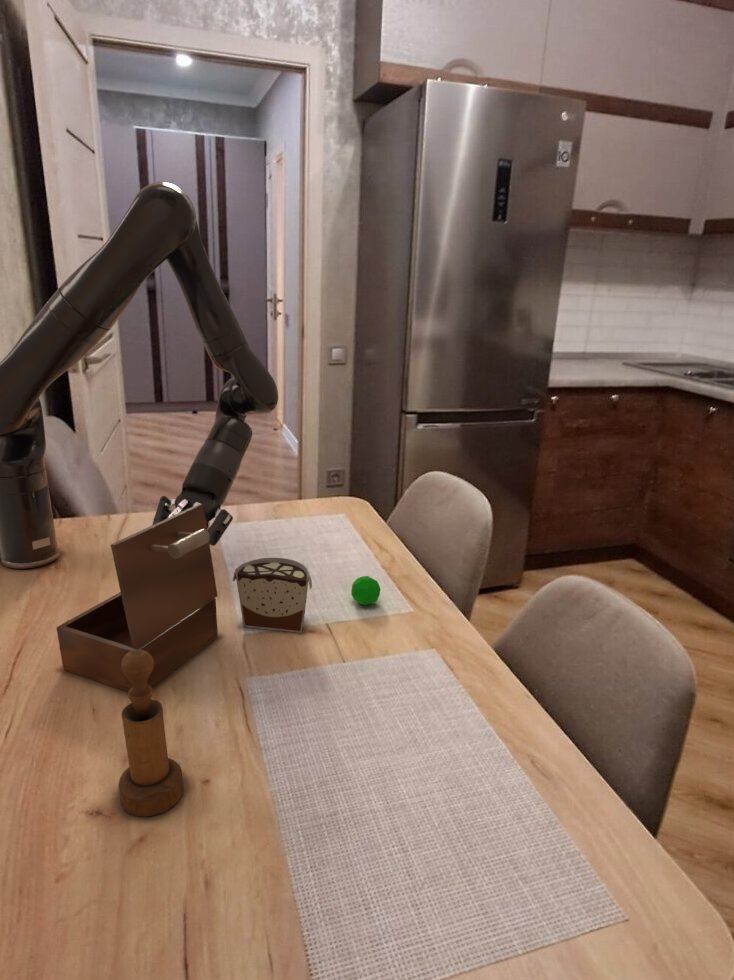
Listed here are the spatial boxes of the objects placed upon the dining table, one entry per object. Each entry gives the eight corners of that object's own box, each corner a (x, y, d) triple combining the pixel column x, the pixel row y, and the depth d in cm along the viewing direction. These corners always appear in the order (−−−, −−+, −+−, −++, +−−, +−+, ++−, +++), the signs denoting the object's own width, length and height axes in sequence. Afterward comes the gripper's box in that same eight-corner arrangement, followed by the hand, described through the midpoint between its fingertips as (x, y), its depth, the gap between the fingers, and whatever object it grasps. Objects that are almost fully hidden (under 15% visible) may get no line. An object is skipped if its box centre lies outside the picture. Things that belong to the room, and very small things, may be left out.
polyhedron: (356, 611, 112) (357, 586, 110) (346, 598, 116) (347, 573, 114) (384, 607, 114) (385, 582, 112) (373, 594, 118) (374, 570, 116)
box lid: (110, 544, 80) (146, 548, 78) (198, 503, 95) (231, 506, 93) (132, 649, 85) (167, 656, 83) (213, 595, 100) (244, 600, 98)
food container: (319, 614, 110) (319, 559, 107) (311, 633, 105) (311, 576, 101) (246, 607, 111) (244, 552, 107) (234, 626, 106) (232, 569, 102)
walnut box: (63, 669, 93) (56, 627, 90) (147, 616, 107) (143, 578, 104) (140, 696, 88) (135, 652, 85) (218, 637, 102) (215, 598, 100)
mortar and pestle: (112, 787, 73) (92, 646, 66) (171, 764, 77) (157, 628, 70) (131, 826, 68) (111, 679, 61) (193, 800, 72) (181, 658, 65)
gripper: (168, 454, 115) (124, 542, 109) (238, 468, 110) (196, 560, 104) (190, 476, 122) (149, 559, 116) (257, 490, 117) (218, 577, 111)
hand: (171, 559), depth 110 cm, fingers closed on ceramic cup, 5 cm apart
